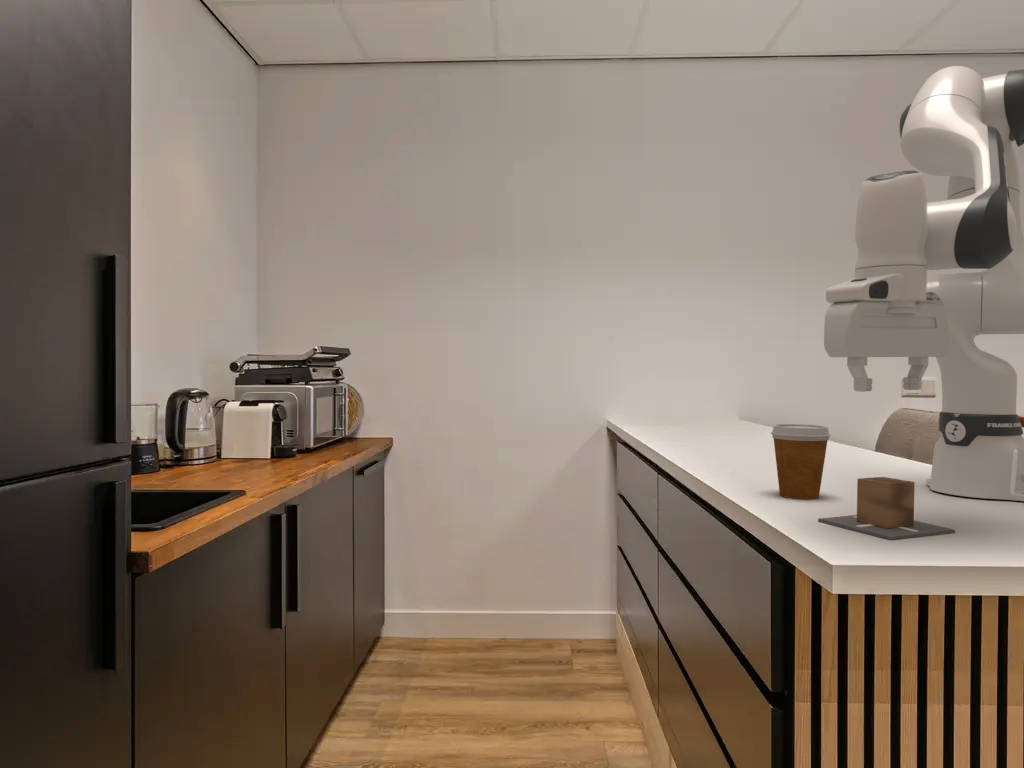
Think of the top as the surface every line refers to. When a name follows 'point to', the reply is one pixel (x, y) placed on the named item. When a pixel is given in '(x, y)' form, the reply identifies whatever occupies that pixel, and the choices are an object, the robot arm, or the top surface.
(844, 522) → the pad
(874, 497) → the walnut block
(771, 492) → the top surface
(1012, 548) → the top surface
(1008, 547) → the top surface
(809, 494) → the disposable coffee cup
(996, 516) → the top surface
